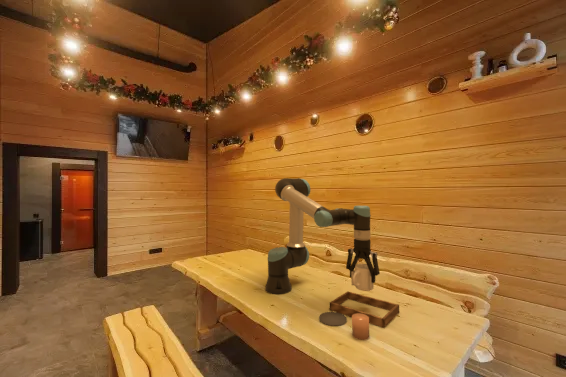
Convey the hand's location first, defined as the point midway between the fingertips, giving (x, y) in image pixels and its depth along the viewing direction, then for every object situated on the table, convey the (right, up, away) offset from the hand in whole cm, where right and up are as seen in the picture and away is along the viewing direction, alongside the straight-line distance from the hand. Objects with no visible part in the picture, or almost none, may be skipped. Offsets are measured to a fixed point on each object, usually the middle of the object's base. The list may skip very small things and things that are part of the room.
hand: (362, 286), depth 123 cm
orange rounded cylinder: (-7, -11, -21) cm, 24 cm away
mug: (0, -1, 0) cm, 1 cm away
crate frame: (+1, -11, -1) cm, 11 cm away
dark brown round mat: (-15, -11, -8) cm, 21 cm away
